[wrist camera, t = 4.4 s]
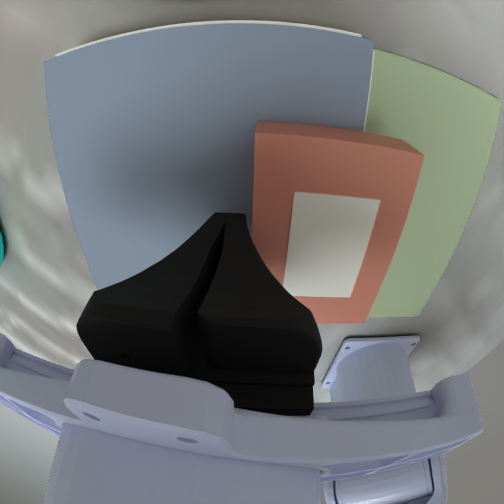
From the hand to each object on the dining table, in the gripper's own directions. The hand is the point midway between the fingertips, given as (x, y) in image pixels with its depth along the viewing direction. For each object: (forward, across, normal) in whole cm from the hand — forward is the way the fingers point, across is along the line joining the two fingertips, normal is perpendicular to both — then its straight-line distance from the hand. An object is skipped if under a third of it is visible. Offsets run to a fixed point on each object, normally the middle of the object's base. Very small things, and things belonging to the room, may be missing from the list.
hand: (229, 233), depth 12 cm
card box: (+1, -4, 0) cm, 4 cm away
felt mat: (+4, -10, 0) cm, 11 cm away
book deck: (+4, +2, 0) cm, 4 cm away
